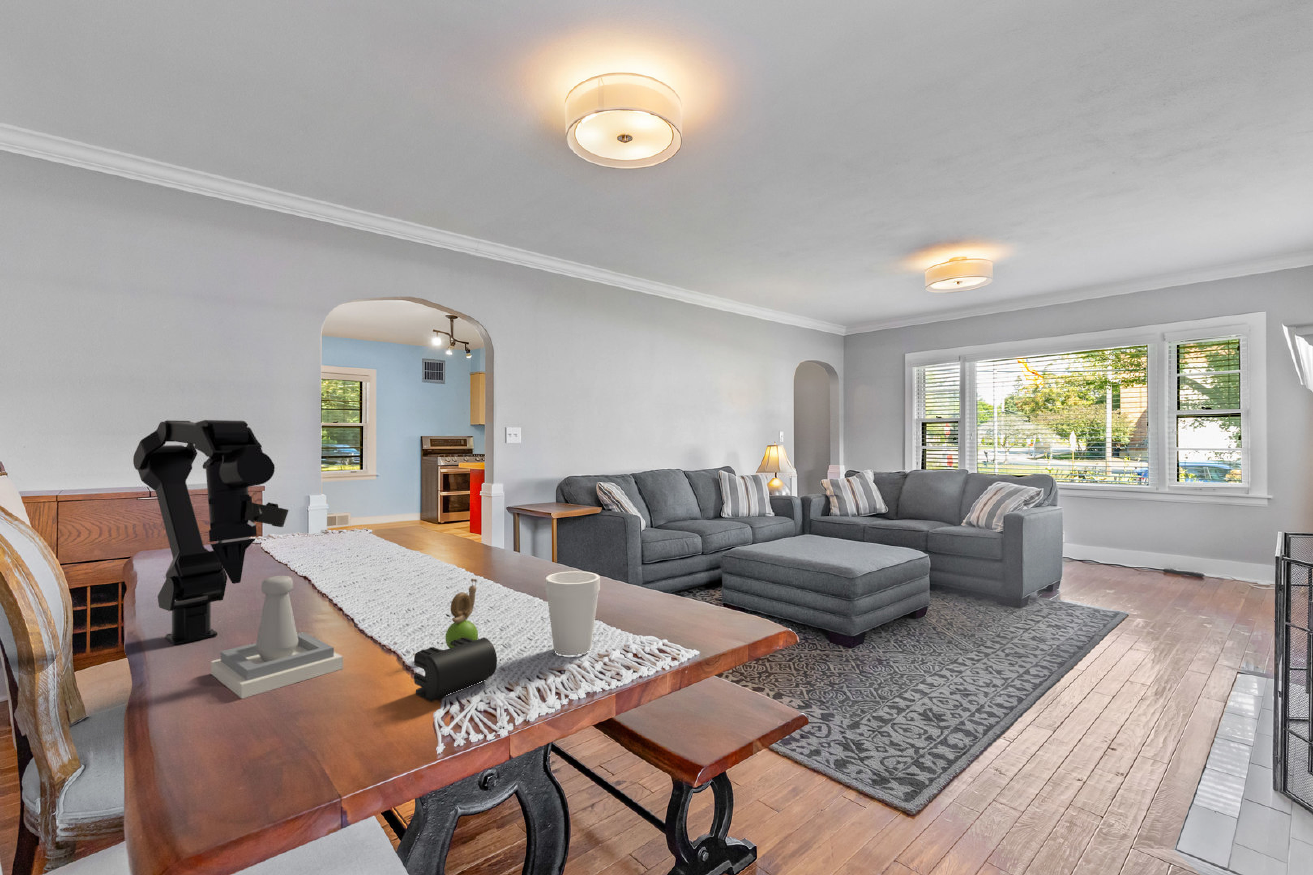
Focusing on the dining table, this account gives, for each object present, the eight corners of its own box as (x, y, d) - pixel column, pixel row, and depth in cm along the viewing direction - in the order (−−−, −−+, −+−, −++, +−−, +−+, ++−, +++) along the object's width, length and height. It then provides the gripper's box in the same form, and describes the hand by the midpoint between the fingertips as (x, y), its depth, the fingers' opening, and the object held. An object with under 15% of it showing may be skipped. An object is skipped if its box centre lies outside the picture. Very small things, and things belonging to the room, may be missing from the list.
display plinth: (211, 673, 94) (211, 651, 94) (306, 648, 104) (307, 629, 104) (241, 698, 85) (241, 674, 85) (342, 668, 96) (342, 647, 96)
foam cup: (534, 651, 104) (535, 577, 104) (575, 637, 111) (575, 568, 111) (569, 665, 98) (570, 587, 98) (610, 650, 105) (610, 577, 104)
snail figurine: (487, 646, 106) (487, 579, 106) (464, 658, 100) (465, 588, 100) (462, 642, 108) (462, 577, 108) (438, 654, 102) (438, 585, 102)
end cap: (438, 709, 82) (438, 660, 82) (411, 695, 86) (411, 649, 86) (497, 685, 90) (498, 641, 90) (470, 673, 94) (470, 631, 94)
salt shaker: (306, 655, 96) (306, 575, 96) (268, 667, 91) (268, 583, 91) (285, 649, 99) (285, 571, 99) (248, 660, 94) (248, 578, 94)
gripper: (288, 482, 100) (296, 574, 99) (277, 489, 115) (284, 570, 114) (205, 489, 94) (213, 589, 92) (206, 496, 108) (212, 582, 107)
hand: (235, 581), depth 102 cm, fingers open, 9 cm apart
